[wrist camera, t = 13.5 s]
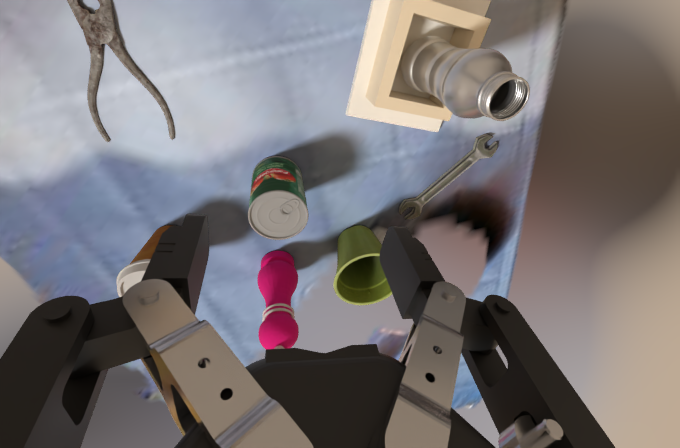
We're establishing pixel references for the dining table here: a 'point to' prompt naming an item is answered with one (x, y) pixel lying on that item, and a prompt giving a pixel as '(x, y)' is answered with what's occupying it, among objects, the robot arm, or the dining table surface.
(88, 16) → the pliers
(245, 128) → the dining table surface
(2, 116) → the dining table surface
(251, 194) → the canned tomato
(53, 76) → the dining table surface
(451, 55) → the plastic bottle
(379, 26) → the housing
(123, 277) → the disposable coffee cup
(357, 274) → the plant pot
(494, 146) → the wrench
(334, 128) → the dining table surface
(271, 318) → the pepper mill
